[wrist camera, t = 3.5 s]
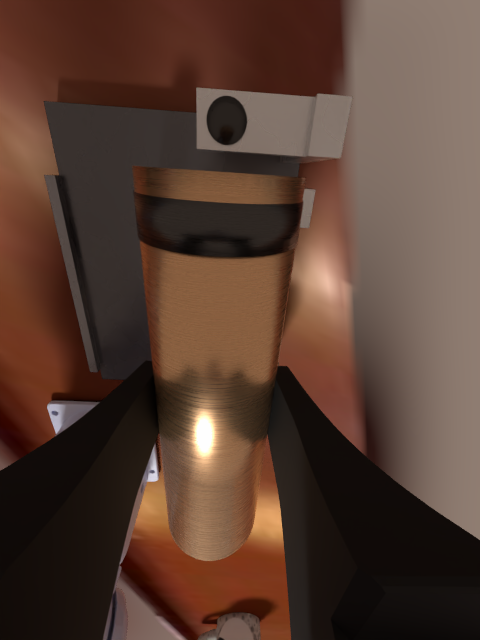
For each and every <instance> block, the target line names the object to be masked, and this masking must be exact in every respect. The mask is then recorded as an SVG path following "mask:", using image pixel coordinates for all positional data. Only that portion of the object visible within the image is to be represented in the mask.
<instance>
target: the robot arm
mask: <svg viewBox="0 0 480 640" xmlns="http://www.w3.org/2000/svg"><path fill="white" fill-rule="evenodd" d="M47 409H48V412H49V415H50V417H51V420H52V423H53V426H54V429H55V432H56V436H55V437H54V438H52V439H51V440H49V441H48V442H46V443H45V444H43V445H42V446H40V447H38V448H37V449H35V450H34V451H32V452H30V453H29V454H27V455H26V456H24V457H22V458H21V459H19V460H18V461H16V462H14V463H13V464H11V465H9V466H8V467H6V468H4V469H3V470H1V471H0V640H126V636H127V626H128V615H127V609H126V599H125V596H124V593H123V591H122V590H121V589H119V588H117V587H116V585H117V582H118V578H119V575H120V571H121V566H119V565H120V564H121V562H122V561H123V559H124V557H125V555H126V552H127V549H128V546H129V543H130V539H131V536H132V532H133V529H134V525H135V522H136V518H137V515H138V511H139V508H140V504H141V501H142V497H143V494H144V490H145V487H146V483H147V481H152V482H154V481H157V480H158V478H159V468H158V460H157V451H156V439H157V436H158V433H159V424H158V414H157V404H156V395H155V385H154V375H153V366H152V361H145V362H143V363H142V364H141V365H140V366H139V367H138V368H137V369H136V370H135V371H134V372H133V373H132V374H131V375H130V376H129V377H127V378H126V379H125V380H124V381H123V382H122V383H121V384H120V385H119V386H118V387H117V388H116V389H114V390H113V391H112V392H111V393H110V394H109V395H108V396H107V397H106V398H104V399H103V400H102V401H101V402H81V401H51V402H50V403H49V404H48V405H47ZM267 434H268V439H269V445H270V450H271V456H272V461H273V466H274V472H275V477H276V482H277V488H278V493H279V500H280V508H281V518H282V528H283V539H284V550H285V562H286V573H287V586H288V599H289V613H290V627H291V640H480V540H479V539H477V538H476V537H474V536H473V535H471V534H470V533H468V532H467V531H465V530H464V529H462V528H461V527H459V526H458V525H456V524H455V523H453V522H452V521H450V520H449V519H447V518H445V517H444V516H443V515H441V514H439V513H438V512H437V511H435V510H434V509H432V508H431V507H429V506H428V505H427V504H425V503H424V502H423V501H421V500H420V499H418V498H417V497H416V496H414V495H413V494H412V493H410V492H409V491H407V490H406V489H405V488H404V487H402V486H401V485H400V484H398V483H397V482H396V481H394V480H393V479H392V478H391V477H390V476H388V475H387V474H386V473H385V472H384V471H382V470H381V469H380V468H379V467H378V466H376V465H375V464H374V463H373V462H372V461H370V460H369V459H368V458H367V457H366V456H365V455H364V454H362V453H361V452H360V451H359V450H358V449H357V448H356V447H355V446H354V445H353V444H352V443H351V442H350V441H349V440H348V439H347V438H346V437H345V436H344V435H343V434H342V433H341V432H340V431H339V430H338V429H337V428H336V427H335V426H334V425H333V424H332V423H331V422H330V420H329V419H328V418H327V417H326V416H325V415H324V414H323V412H322V411H321V410H320V409H319V408H318V406H317V405H316V404H315V403H314V401H313V400H312V399H311V398H310V397H309V395H308V394H307V393H306V391H305V390H304V389H303V387H302V386H301V385H300V383H299V382H298V380H297V379H296V378H295V376H294V375H293V373H292V372H291V371H290V369H289V368H288V367H287V366H277V373H276V380H275V386H274V393H273V399H272V406H271V413H270V419H269V426H268V432H267Z"/></svg>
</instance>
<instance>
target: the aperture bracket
mask: <svg viewBox="0 0 480 640" xmlns="http://www.w3.org/2000/svg"><path fill="white" fill-rule="evenodd" d="M352 98H353V96H342V95H329V94H317V95H315V96H314V97H308V96H296V95H284V94H271V93H259V92H246V91H234V90H221V89H209V88H197V87H196V105H197V149H198V150H204V151H218V152H232V153H246V154H260V155H274V156H280V162H282V163H296V164H301V163H309V162H316V161H324V160H331V159H339V158H341V154H342V149H343V144H344V139H345V134H346V129H347V124H348V119H349V114H350V109H351V103H352Z"/></svg>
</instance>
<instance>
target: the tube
mask: <svg viewBox="0 0 480 640" xmlns="http://www.w3.org/2000/svg"><path fill="white" fill-rule="evenodd" d="M132 172H133V182H134V190H133V195H134V205H135V214H136V224H137V233H138V238H139V240H140V249H141V259H142V269H143V278H144V288H145V298H146V308H147V317H148V327H149V337H150V346H151V356H152V366H153V375H154V385H155V395H156V404H157V414H158V424H159V434H160V443H161V453H162V463H163V472H164V482H165V492H166V501H167V511H168V521H169V528H170V531H171V534H172V536H173V539H174V540H175V542H176V544H177V545H178V546H179V547H180V549H181V550H183V551H184V552H185V553H186V554H188V555H189V556H191V557H193V558H196V559H199V560H204V561H214V560H219V559H223V558H225V557H228V556H230V555H231V554H233V553H234V552H236V551H237V550H238V549H239V548H240V547H241V546H242V545H243V544H244V543H245V541H246V540H247V538H248V537H249V535H250V533H251V530H252V527H253V524H254V518H255V512H256V505H257V499H258V492H259V485H260V479H261V472H262V466H263V459H264V452H265V446H266V439H267V432H268V426H269V419H270V413H271V406H272V399H273V393H274V386H275V380H276V373H277V366H278V360H279V353H280V346H281V340H282V333H283V327H284V320H285V313H286V307H287V300H288V294H289V287H290V280H291V274H292V267H293V260H294V254H295V247H296V246H297V242H298V236H299V229H300V223H301V216H302V209H303V203H304V201H303V194H304V188H305V181H306V178H304V177H289V176H275V175H260V174H246V173H231V172H216V171H202V170H187V169H172V168H158V167H143V166H132Z"/></svg>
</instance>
